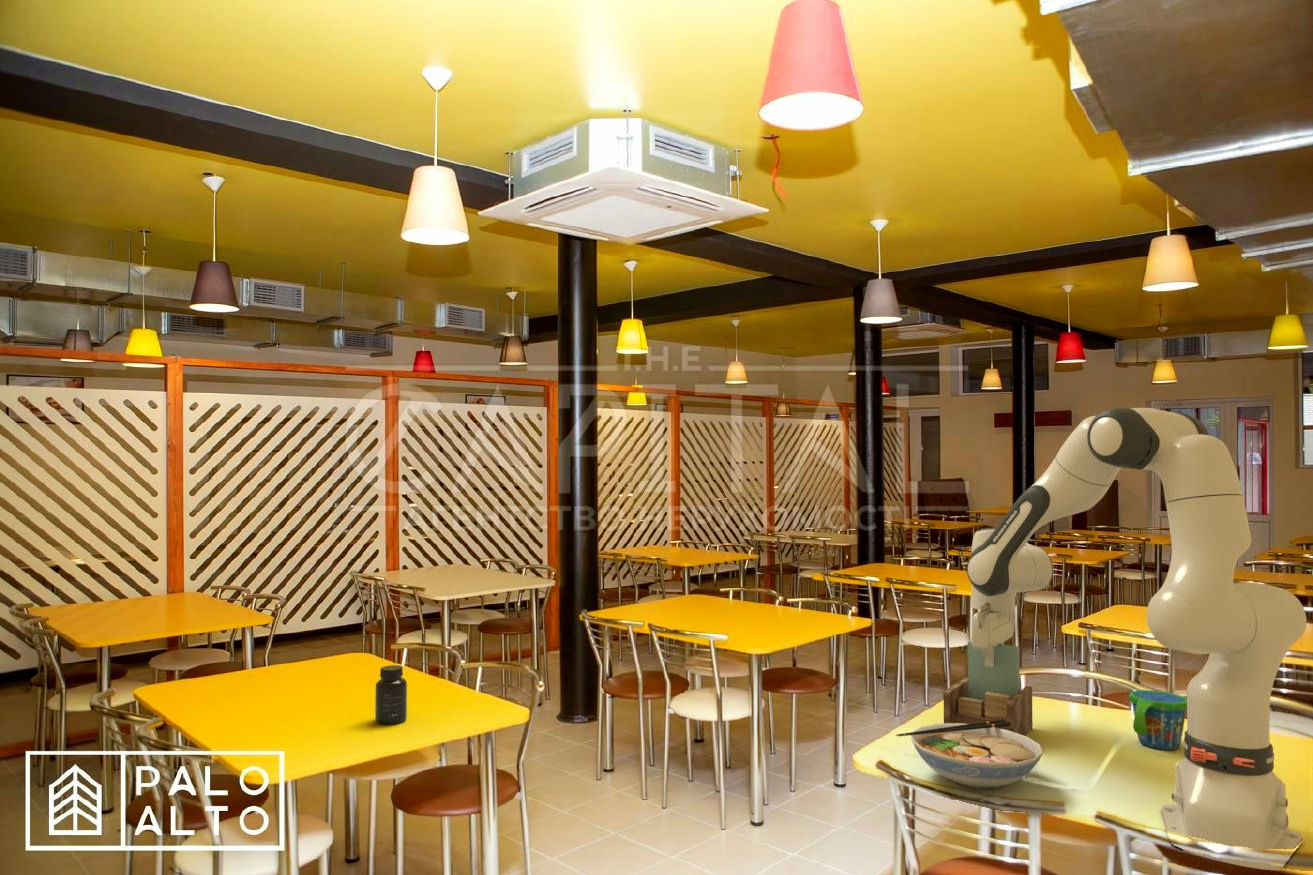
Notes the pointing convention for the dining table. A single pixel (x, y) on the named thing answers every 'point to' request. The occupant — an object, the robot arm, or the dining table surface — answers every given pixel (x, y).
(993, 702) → the tall oak offcut
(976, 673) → the tall panel
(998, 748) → the ramen bowl
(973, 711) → the short oak offcut
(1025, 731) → the walnut rack
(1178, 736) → the snack cup
